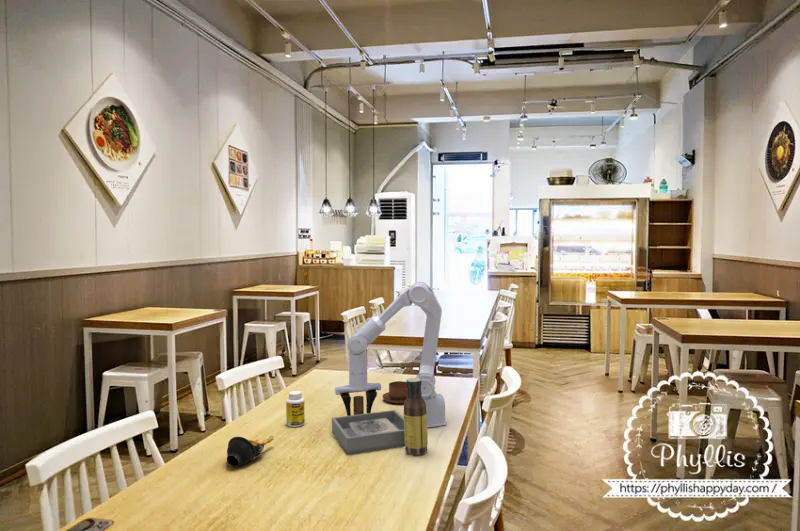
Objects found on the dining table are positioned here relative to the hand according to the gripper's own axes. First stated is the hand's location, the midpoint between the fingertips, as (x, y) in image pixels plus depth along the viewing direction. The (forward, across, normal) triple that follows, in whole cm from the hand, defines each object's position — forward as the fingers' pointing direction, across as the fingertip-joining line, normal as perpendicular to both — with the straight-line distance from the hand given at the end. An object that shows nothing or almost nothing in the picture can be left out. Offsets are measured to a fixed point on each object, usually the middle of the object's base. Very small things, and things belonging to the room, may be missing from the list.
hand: (358, 414), depth 168 cm
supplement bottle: (+3, +19, -5) cm, 20 cm away
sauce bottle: (+3, -8, +29) cm, 30 cm away
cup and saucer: (+3, -20, -17) cm, 26 cm away
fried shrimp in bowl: (+3, +34, +17) cm, 38 cm away
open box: (+2, 0, +15) cm, 15 cm away
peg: (+2, 0, 0) cm, 2 cm away
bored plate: (+2, 0, +15) cm, 15 cm away
